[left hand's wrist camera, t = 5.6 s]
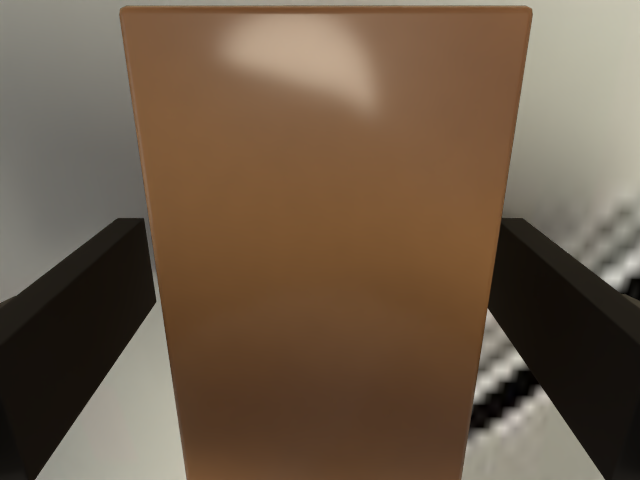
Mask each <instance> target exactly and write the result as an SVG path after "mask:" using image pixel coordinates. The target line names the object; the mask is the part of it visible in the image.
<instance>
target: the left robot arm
mask: <svg viewBox="0 0 640 480" xmlns="http://www.w3.org/2000/svg"><path fill="white" fill-rule="evenodd" d="M155 303H156V296H155V289H154V282H153V276H152V269H151V262H150V256H149V249H148V242H147V236H146V229H145V222H144V218H117V219H116V220H115V221H113V222H112V223H111V224H109V225H108V226H107V227H106V228H104V229H103V230H102V231H100V232H99V233H98V234H96V235H95V236H94V237H93V238H91V239H90V240H89V241H87V242H86V243H85V244H83V245H82V246H81V247H79V248H78V249H77V250H76V251H74V252H73V253H72V254H70V255H69V256H68V257H66V258H65V259H64V260H63V261H61V262H60V263H59V264H57V265H56V266H55V267H53V268H52V269H51V270H50V271H48V272H47V273H46V274H44V275H43V276H42V277H40V278H39V279H38V280H37V281H35V282H34V283H33V284H31V285H30V286H29V287H27V288H26V289H25V290H23V291H22V292H21V293H20V294H18V295H17V296H14V297H12V298H10V299H8V300H6V301H4V302H1V303H0V480H35V479H36V477H37V476H38V474H39V473H40V471H41V470H42V468H43V467H44V465H45V464H46V462H47V461H48V460H49V458H50V457H51V455H52V454H53V452H54V451H55V449H56V448H57V446H58V445H59V443H60V442H61V441H62V439H63V438H64V436H65V435H66V433H67V432H68V430H69V429H70V427H71V426H72V424H73V423H74V422H75V420H76V419H77V417H78V416H79V414H80V413H81V411H82V410H83V408H84V407H85V405H86V404H87V403H88V401H89V400H90V398H91V397H92V395H93V394H94V392H95V391H96V389H97V388H98V386H99V385H100V384H101V382H102V381H103V379H104V378H105V376H106V375H107V373H108V372H109V370H110V369H111V367H112V366H113V365H114V363H115V362H116V360H117V359H118V357H119V356H120V354H121V353H122V351H123V350H124V349H125V347H126V346H127V344H128V343H129V341H130V340H131V338H132V337H133V335H134V334H135V332H136V331H137V330H138V328H139V327H140V325H141V324H142V322H143V321H144V319H145V318H146V316H147V315H148V313H149V312H150V311H151V309H152V308H153V306H154V305H155ZM488 309H489V310H490V312H491V313H492V315H493V316H494V318H495V319H496V321H497V322H498V324H499V325H500V327H501V328H502V329H503V331H504V332H505V334H506V335H507V337H508V338H509V340H510V341H511V343H512V344H513V346H514V347H515V348H516V350H517V351H518V353H519V354H520V356H521V357H522V359H523V360H524V362H525V363H526V365H527V366H528V367H529V369H530V370H531V372H532V373H533V375H534V376H535V378H536V379H537V381H538V382H539V384H540V385H541V386H542V388H543V389H544V391H545V392H546V394H547V395H548V397H549V398H550V400H551V401H552V403H553V404H554V405H555V407H556V408H557V410H558V411H559V413H560V414H561V416H562V417H563V419H564V420H565V422H566V423H567V424H568V426H569V427H570V429H571V430H572V432H573V433H574V435H575V436H576V438H577V439H578V441H579V442H580V443H581V445H582V446H583V448H584V449H585V451H586V452H587V454H588V455H589V457H590V458H591V460H592V461H593V462H594V464H595V465H596V467H597V468H598V470H599V471H600V473H601V474H602V476H603V477H604V479H605V480H640V301H638V300H636V299H634V298H632V297H630V296H627V295H625V294H620V293H619V292H618V291H617V290H615V289H614V288H613V287H611V286H610V285H609V284H607V283H606V282H605V281H604V280H602V279H601V278H600V277H598V276H597V275H596V274H594V273H593V272H592V271H590V270H589V269H588V268H587V267H585V266H584V265H583V264H581V263H580V262H579V261H577V260H576V259H575V258H574V257H572V256H571V255H570V254H568V253H567V252H566V251H564V250H563V249H562V248H561V247H559V246H558V245H557V244H555V243H554V242H553V241H551V240H550V239H549V238H548V237H546V236H545V235H544V234H542V233H541V232H540V231H538V230H537V229H536V228H534V227H533V226H532V225H531V224H529V223H528V222H527V221H525V220H524V219H523V218H501V224H500V230H499V237H498V243H497V250H496V256H495V263H494V269H493V276H492V282H491V289H490V295H489V302H488Z"/></svg>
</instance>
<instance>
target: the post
mask: <svg viewBox="0 0 640 480" xmlns="http://www.w3.org/2000/svg"><path fill="white" fill-rule="evenodd" d="M119 16H120V23H121V30H122V37H123V44H124V51H125V58H126V64H127V71H128V78H129V85H130V92H131V99H132V106H133V113H134V120H135V126H136V133H137V140H138V147H139V154H140V161H141V168H142V175H143V181H144V188H145V195H146V202H147V209H148V216H149V223H150V230H151V237H152V243H153V250H154V257H155V264H156V271H157V278H158V285H159V292H160V298H161V305H162V312H163V319H164V326H165V333H166V340H167V347H168V354H169V360H170V367H171V374H172V381H173V388H174V395H175V402H176V409H177V416H178V422H179V429H180V436H181V443H182V450H183V457H184V464H185V471H186V477H187V480H461V477H462V471H463V464H464V458H465V451H466V445H467V438H468V432H469V425H470V419H471V412H472V406H473V399H474V393H475V386H476V380H477V373H478V367H479V360H480V354H481V347H482V341H483V334H484V328H485V321H486V315H487V308H488V302H489V295H490V289H491V282H492V276H493V269H494V263H495V256H496V250H497V243H498V237H499V230H500V224H501V217H502V211H503V204H504V198H505V191H506V185H507V178H508V172H509V165H510V159H511V152H512V146H513V139H514V133H515V126H516V120H517V113H518V107H519V100H520V94H521V87H522V81H523V74H524V68H525V61H526V55H527V48H528V42H529V35H530V29H531V22H532V16H533V13H532V9H531V8H529V7H527V6H125V7H123V8H121V9H120V13H119Z"/></svg>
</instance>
